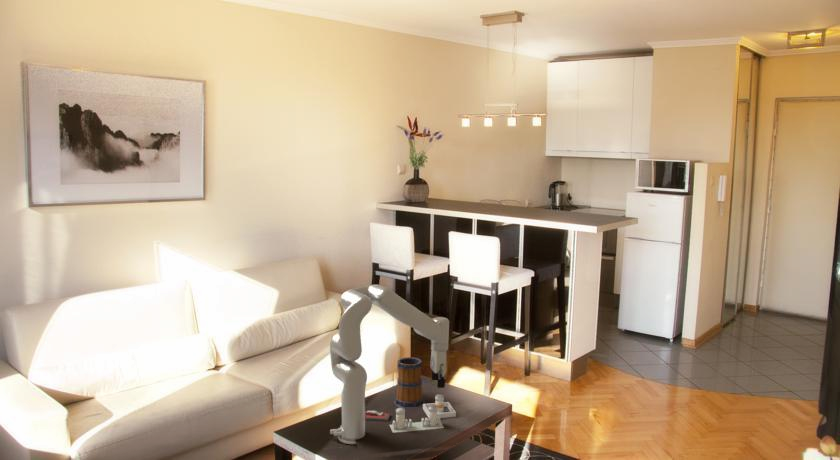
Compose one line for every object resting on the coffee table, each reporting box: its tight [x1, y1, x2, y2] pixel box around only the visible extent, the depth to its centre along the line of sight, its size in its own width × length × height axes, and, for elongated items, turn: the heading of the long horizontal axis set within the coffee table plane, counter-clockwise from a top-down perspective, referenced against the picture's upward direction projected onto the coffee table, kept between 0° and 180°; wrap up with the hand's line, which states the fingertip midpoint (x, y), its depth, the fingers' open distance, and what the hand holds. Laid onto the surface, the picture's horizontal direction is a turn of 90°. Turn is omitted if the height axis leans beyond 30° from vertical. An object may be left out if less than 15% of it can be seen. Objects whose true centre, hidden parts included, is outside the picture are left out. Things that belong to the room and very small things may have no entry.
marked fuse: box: [434, 394, 445, 413], centre depth 294 cm, size 4×4×8 cm
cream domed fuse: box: [395, 407, 406, 430], centre depth 278 cm, size 4×4×8 cm
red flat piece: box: [365, 409, 391, 422], centre depth 290 cm, size 9×4×20 cm
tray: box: [422, 401, 457, 419], centre depth 295 cm, size 12×12×4 cm
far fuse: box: [428, 405, 437, 427], centre depth 281 cm, size 4×4×8 cm
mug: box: [393, 356, 426, 409], centre depth 311 cm, size 19×14×20 cm
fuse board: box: [389, 417, 445, 434], centre depth 280 cm, size 22×8×4 cm, turn 103°
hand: (438, 383), depth 293 cm, fingers open, 9 cm apart
